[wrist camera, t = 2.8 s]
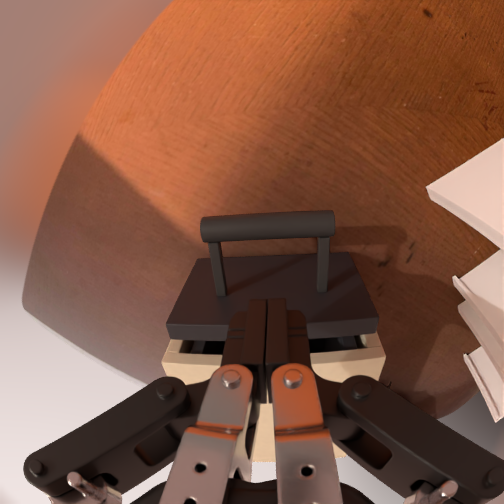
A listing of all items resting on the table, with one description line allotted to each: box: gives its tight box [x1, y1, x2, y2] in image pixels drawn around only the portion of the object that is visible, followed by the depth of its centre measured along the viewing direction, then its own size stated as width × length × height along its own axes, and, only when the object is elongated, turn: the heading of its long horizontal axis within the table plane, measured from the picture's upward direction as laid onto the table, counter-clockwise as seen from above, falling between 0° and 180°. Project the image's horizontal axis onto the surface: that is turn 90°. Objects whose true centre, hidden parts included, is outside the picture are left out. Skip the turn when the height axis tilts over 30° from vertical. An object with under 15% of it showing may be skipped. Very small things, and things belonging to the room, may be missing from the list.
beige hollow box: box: [161, 331, 386, 462], centre depth 22 cm, size 15×13×10 cm
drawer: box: [166, 210, 379, 355], centre depth 20 cm, size 18×12×8 cm, turn 5°
